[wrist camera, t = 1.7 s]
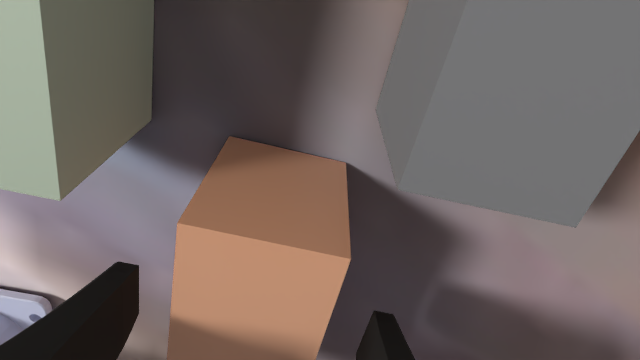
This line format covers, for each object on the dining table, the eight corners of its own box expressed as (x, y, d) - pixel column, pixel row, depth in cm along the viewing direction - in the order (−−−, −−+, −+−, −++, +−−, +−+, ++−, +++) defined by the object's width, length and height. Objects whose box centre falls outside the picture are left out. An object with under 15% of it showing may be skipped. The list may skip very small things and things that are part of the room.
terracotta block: (297, 322, 17) (285, 443, 13) (206, 304, 17) (162, 423, 13) (345, 162, 14) (351, 259, 9) (229, 136, 13) (177, 223, 9)
